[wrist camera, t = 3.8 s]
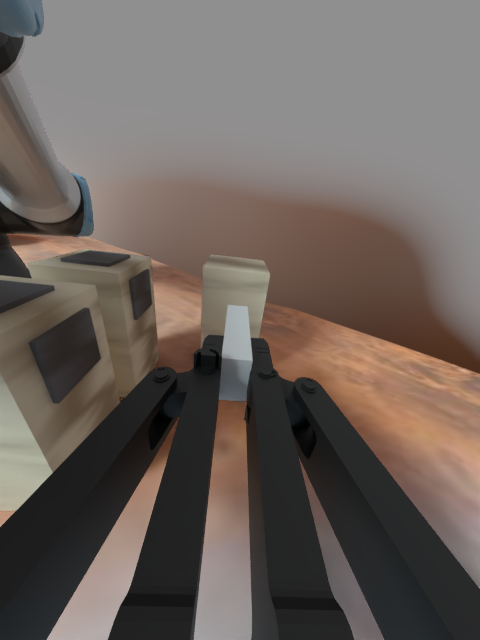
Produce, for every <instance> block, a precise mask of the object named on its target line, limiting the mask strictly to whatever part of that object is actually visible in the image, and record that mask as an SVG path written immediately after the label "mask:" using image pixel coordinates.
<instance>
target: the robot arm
mask: <svg viewBox="0 0 480 640" xmlns="http://www.w3.org/2000/svg"><path fill="white" fill-rule="evenodd" d="M43 24H44V16H43V7H42V0H0V275H2V276H12V277H22V278H31V279H32V277H31V274H30V272H29V269H28V268H27V267H26V266H25V264H24V263H23V261H22V260H21V258H20V257H19V256H18V254H17V253H16V252H15V251H14V249H13V248H12V246H11V244H10V241H9V239H8V236H7V234H32V235H54V236H73V237H79V236H90V235H91V234H92V233H93V230H94V229H93V228H94V224H93V211H92V204H91V197H90V193H89V188H88V185H87V182H86V180H85V179H84V178H83V177H82V176H79V175H76V174H74V173H70V171H69V170H68V169H67V168H66V167H65V166H64V165H62V164H61V163H60V162H59V161H58V160H57V158H56V155H55V153H54V150H53V148H52V146H51V143H50V141H49V138H48V136H47V133H46V131H45V128H44V126H43V123H42V121H41V119H40V116H39V114H38V111H37V109H36V106H35V104H34V102H33V99H32V97H31V94H30V92H29V89H28V87H27V84H26V82H25V80H24V77H23V75H22V72H21V70H20V67H19V65H18V62H19V60H20V58H21V56H22V53H23V50H24V46H25V35H27V36H34V37H36V36H37V35H39V34H41V32H42V30H43ZM246 398H247V406H246V412H245V418H244V420H246V431H247V464H248V496H249V528H250V560H251V592H252V639H251V640H354V638H353V635H352V631H351V628H350V625H349V623H348V621H347V618H346V616H345V614H344V611H343V610H342V608H341V607H340V606H339V604H338V603H337V601H336V600H335V599H334V596H333V594H332V592H331V588H330V585H329V582H328V577H327V573H326V569H325V565H324V561H323V557H322V553H321V548H320V544H319V540H318V536H317V532H316V528H315V524H314V519H313V515H312V511H311V507H310V503H309V499H308V495H307V490H306V486H305V482H304V478H303V474H302V470H301V466H300V461H299V458H300V460H301V462H302V465H303V467H304V469H305V471H306V473H307V475H308V477H309V479H310V482H311V484H312V486H313V488H314V490H315V492H316V494H317V496H318V499H319V501H320V503H321V505H322V507H323V509H324V511H325V514H326V516H327V518H328V520H329V522H330V524H331V526H332V528H333V531H334V533H335V535H336V537H337V539H338V541H339V543H340V545H341V548H342V550H343V552H344V554H345V556H346V558H347V560H348V562H349V565H350V567H351V569H352V571H353V573H354V575H355V577H356V580H357V582H358V584H359V586H360V588H361V590H362V592H363V594H364V597H365V599H366V601H367V603H368V605H369V607H370V609H371V611H372V614H373V616H374V618H375V620H376V622H377V624H378V626H379V629H380V631H381V633H382V635H383V637H384V639H385V640H480V589H479V588H478V586H477V585H476V584H475V583H474V581H473V580H472V579H471V577H470V576H469V575H468V574H467V572H466V571H465V570H464V568H463V567H462V566H461V565H460V563H459V562H458V561H457V559H456V558H455V557H454V556H453V554H452V553H451V552H450V550H449V549H448V548H447V547H446V545H445V544H444V543H443V541H442V540H441V539H440V538H439V536H438V535H437V534H436V533H435V531H434V530H433V529H432V527H431V526H430V525H429V524H428V522H427V521H426V520H425V518H424V517H423V516H422V515H421V513H420V512H419V511H418V509H417V508H416V507H415V506H414V504H413V503H412V502H411V500H410V499H409V498H408V497H407V495H406V494H405V493H404V491H403V490H402V489H401V488H400V486H399V485H398V484H397V482H396V481H395V480H394V479H393V477H392V476H391V475H390V474H389V472H388V471H387V470H386V468H385V467H384V466H383V465H382V463H381V462H380V461H379V459H378V458H377V457H376V456H375V454H374V453H373V452H372V450H371V449H370V448H369V447H368V445H367V444H366V443H365V441H364V440H363V439H362V438H361V436H360V435H359V434H358V432H357V431H356V430H355V429H354V427H353V426H352V425H351V424H350V422H349V421H348V420H347V418H346V417H345V416H344V415H343V413H342V412H341V411H340V409H339V408H338V407H337V406H336V404H335V403H334V402H333V400H332V399H331V398H330V397H329V395H328V394H327V393H326V391H325V390H324V389H323V388H322V386H321V385H320V384H319V383H318V382H316V381H315V380H313V379H310V378H306V377H301V378H298V379H297V380H296V381H295V383H294V382H291V381H288V380H285V379H283V378H281V377H279V375H278V373H277V371H276V370H275V369H274V368H273V364H272V360H271V355H270V351H269V346H268V343H267V342H266V341H265V340H264V339H261V338H251V337H250V327H249V316H248V307H247V306H237V305H228V308H227V316H226V324H225V332H224V336H221V335H210V334H209V335H208V336H207V337H205V338H204V342H203V345H202V348H201V349H199V350H197V351H196V352H195V353H194V369H192V370H190V371H188V372H184V373H178V374H176V371H175V370H174V369H172V368H170V367H159V368H156V369H153V370H152V371H150V372H149V373H148V374H147V375H146V376H145V377H144V378H143V379H142V380H141V381H140V382H139V383H138V384H137V385H136V386H135V388H134V389H133V390H132V391H131V392H130V393H129V394H128V395H127V396H126V397H125V398H124V399H123V400H122V401H121V402H120V403H119V404H118V405H117V406H116V407H115V408H114V409H113V410H112V411H111V413H110V414H109V415H108V416H107V417H106V418H105V419H104V420H103V421H102V422H101V423H100V424H99V425H98V426H97V427H96V428H95V429H94V430H93V431H92V432H91V433H90V434H89V435H88V436H87V438H86V439H85V440H84V441H83V442H82V443H81V444H80V445H79V446H78V447H77V448H76V449H75V450H74V451H73V452H72V453H71V454H70V455H69V456H68V457H67V458H66V459H65V460H64V461H63V463H62V464H61V465H60V466H59V467H58V468H57V469H56V470H55V471H54V472H53V473H52V474H51V475H50V476H49V477H48V478H47V479H46V480H45V481H44V482H43V483H42V484H41V485H40V486H39V488H38V489H37V490H36V491H35V492H34V493H33V494H32V495H31V496H30V497H29V498H28V499H27V500H26V501H25V502H24V503H23V504H22V505H21V506H20V507H19V508H18V509H17V510H16V511H15V513H14V514H13V515H12V516H11V517H10V518H9V519H8V520H7V521H6V522H5V523H4V524H3V525H2V526H1V527H0V640H46V639H47V638H48V636H49V634H50V633H51V631H52V629H53V628H54V626H55V624H56V623H57V621H58V619H59V617H60V616H61V614H62V612H63V611H64V609H65V607H66V606H67V604H68V602H69V601H70V599H71V597H72V596H73V594H74V592H75V590H76V589H77V587H78V585H79V584H80V582H81V580H82V579H83V577H84V575H85V574H86V572H87V570H88V569H89V567H90V565H91V564H92V562H93V560H94V558H95V557H96V555H97V553H98V552H99V550H100V548H101V547H102V545H103V543H104V542H105V540H106V538H107V537H108V535H109V533H110V531H111V530H112V528H113V526H114V525H115V523H116V521H117V520H118V518H119V516H120V515H121V513H122V511H123V510H124V508H125V506H126V504H127V503H128V501H129V499H130V498H131V496H132V494H133V493H134V491H135V489H136V488H137V486H138V484H139V483H140V481H141V479H142V478H143V476H144V474H145V472H146V471H147V469H148V467H149V466H150V464H151V462H152V461H153V459H154V457H155V456H156V454H157V452H158V451H159V449H160V447H161V445H162V444H163V442H164V440H165V439H166V437H167V435H168V434H169V432H170V430H171V429H172V427H173V425H174V424H175V422H176V420H177V418H178V417H180V418H179V421H178V424H177V428H176V431H175V435H174V438H173V442H172V445H171V449H170V452H169V456H168V459H167V463H166V466H165V469H164V473H163V476H162V480H161V483H160V487H159V490H158V494H157V497H156V501H155V504H154V508H153V511H152V515H151V518H150V521H149V525H148V528H147V532H146V535H145V539H144V542H143V546H142V549H141V553H140V556H139V560H138V563H137V566H136V570H135V573H134V577H133V580H132V583H131V586H130V589H129V591H128V594H127V595H126V597H125V599H124V600H123V602H122V604H121V606H120V608H119V610H118V613H117V615H116V618H115V620H114V623H113V626H112V629H111V632H110V635H109V638H108V640H194V629H195V619H196V609H197V600H198V591H199V581H200V572H201V562H202V553H203V543H204V534H205V524H206V515H207V505H208V496H209V487H210V477H211V468H212V458H213V449H214V439H215V430H216V420H217V411H218V400H232V401H246ZM298 456H299V457H298Z"/></svg>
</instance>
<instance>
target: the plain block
mask: <svg viewBox="0 0 480 640" xmlns="http://www.w3.org/2000/svg"><path fill="white" fill-rule="evenodd" d="M269 278H270V273H269V271H268V269H267V267H266V265H265V263H264V261H263V260H255V259H246V258H237V257H228V256H220V255H210V257H209V259H208V260H207V262H206V263H205V265H204V266H203V282H202V314H201V346H200V349H201V348H202V345H203V342H204V338H205V337H207V336H208V335H209V334H210V335H221V336H224V332H225V324H226V316H227V308H228V305H237V306H247V307H248V316H249V327H250V337H251V338H259V334H260V329H261V323H262V317H263V312H264V306H265V301H266V295H267V290H268V284H269Z"/></svg>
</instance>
